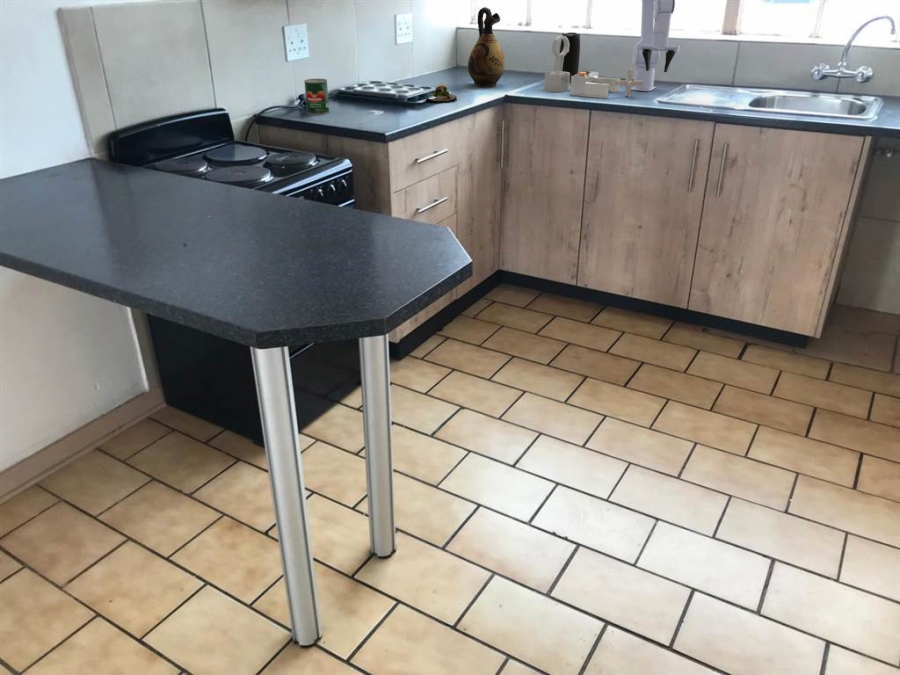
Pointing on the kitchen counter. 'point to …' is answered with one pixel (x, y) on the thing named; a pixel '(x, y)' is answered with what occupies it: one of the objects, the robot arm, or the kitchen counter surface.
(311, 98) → the canned tomato
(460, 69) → the kitchen counter surface
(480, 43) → the ceramic jug
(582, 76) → the motor housing
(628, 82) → the pipe connector
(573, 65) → the portable speaker
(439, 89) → the burger
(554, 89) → the engine component
